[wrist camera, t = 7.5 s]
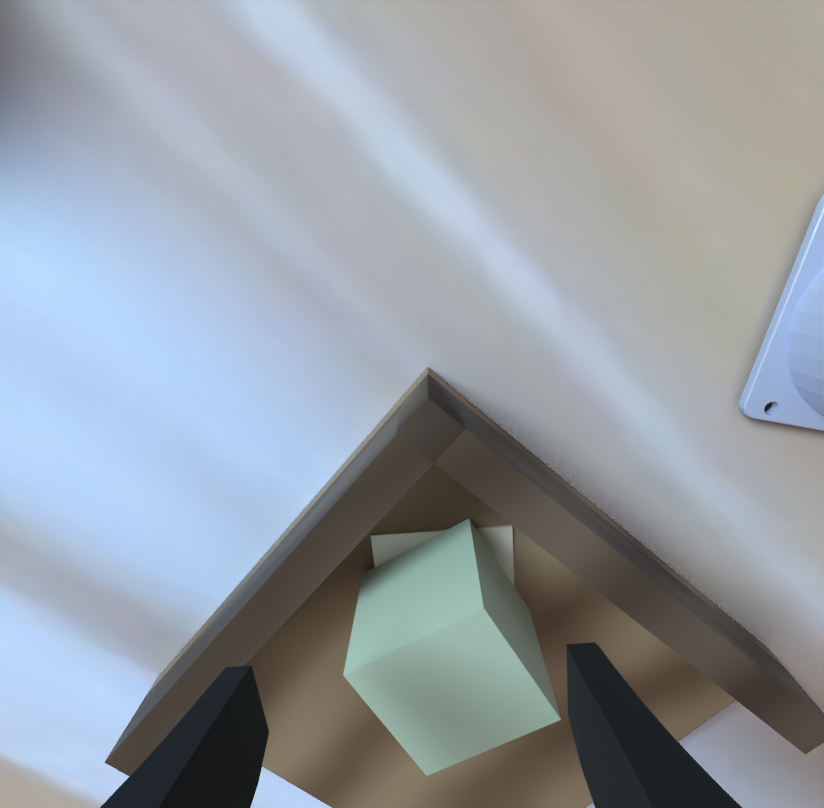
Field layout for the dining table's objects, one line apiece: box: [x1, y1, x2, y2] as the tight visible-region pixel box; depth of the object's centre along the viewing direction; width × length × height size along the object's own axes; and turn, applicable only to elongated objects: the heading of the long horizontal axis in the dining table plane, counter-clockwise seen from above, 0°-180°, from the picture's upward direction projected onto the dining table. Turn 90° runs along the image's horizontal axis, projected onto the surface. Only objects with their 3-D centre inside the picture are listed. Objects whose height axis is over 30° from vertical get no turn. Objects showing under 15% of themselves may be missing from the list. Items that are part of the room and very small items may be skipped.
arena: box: [105, 367, 824, 808], centre depth 21 cm, size 20×20×4 cm
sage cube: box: [343, 519, 561, 776], centre depth 18 cm, size 5×5×5 cm
